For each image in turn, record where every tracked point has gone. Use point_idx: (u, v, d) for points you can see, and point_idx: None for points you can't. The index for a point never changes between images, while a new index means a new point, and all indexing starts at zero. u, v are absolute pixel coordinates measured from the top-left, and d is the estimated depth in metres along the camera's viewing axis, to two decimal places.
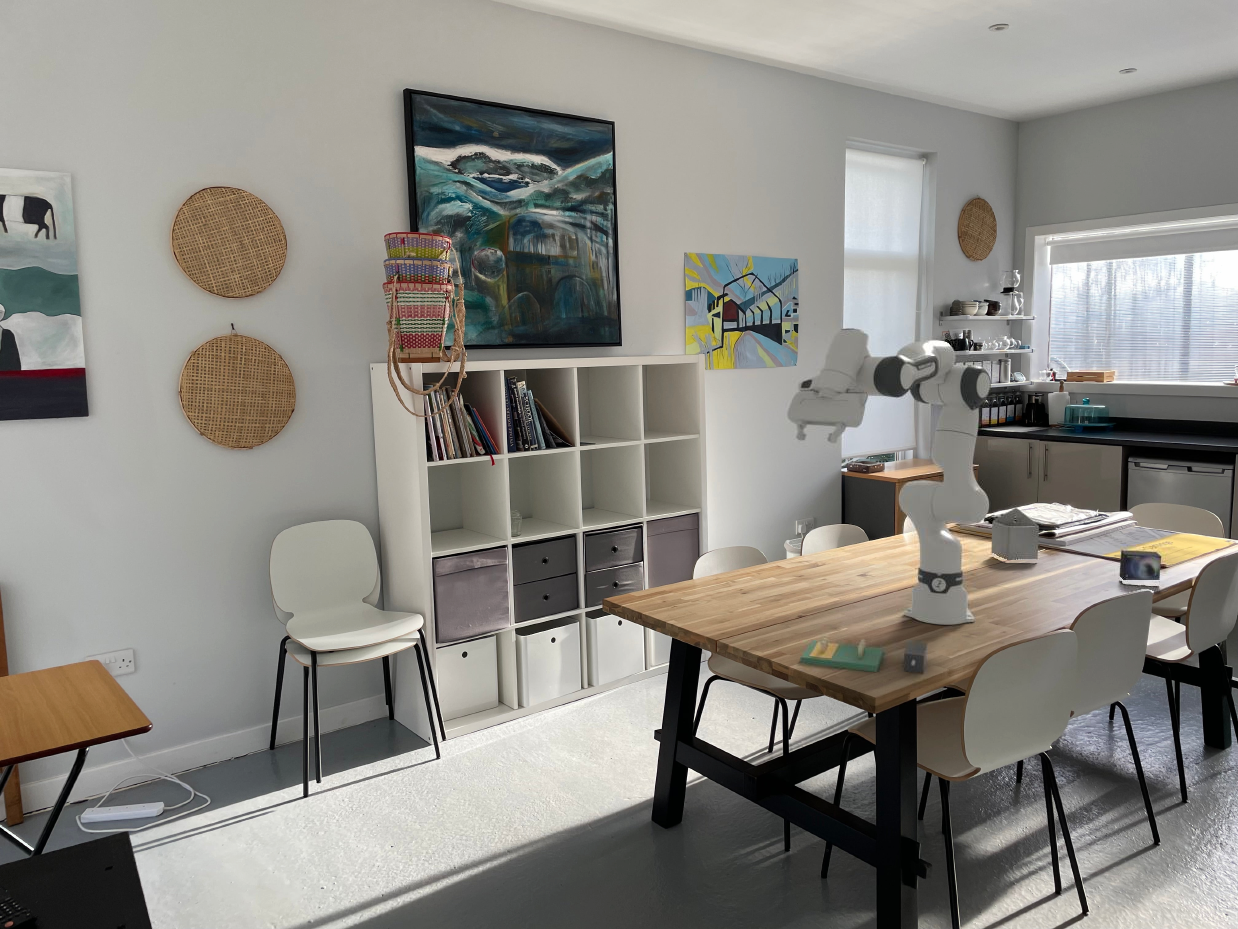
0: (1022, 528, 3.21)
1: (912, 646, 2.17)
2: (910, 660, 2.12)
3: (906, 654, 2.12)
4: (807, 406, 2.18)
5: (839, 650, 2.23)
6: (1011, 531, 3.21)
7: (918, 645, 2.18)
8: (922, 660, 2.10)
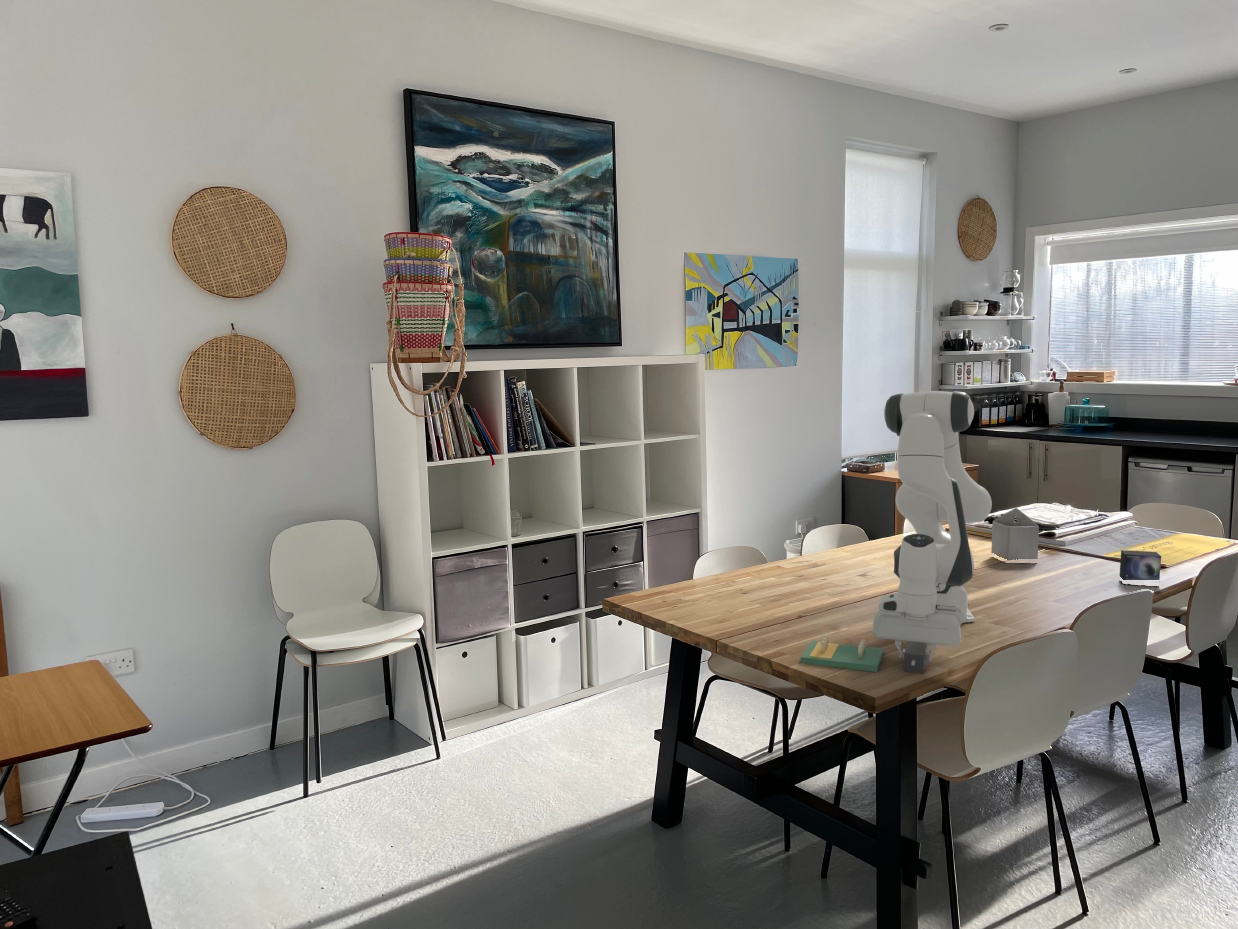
0: (1022, 528, 3.21)
1: (912, 646, 2.17)
2: (910, 660, 2.12)
3: (906, 654, 2.12)
4: (897, 627, 2.15)
5: (839, 650, 2.23)
6: (1011, 531, 3.21)
7: (918, 645, 2.18)
8: (922, 660, 2.10)
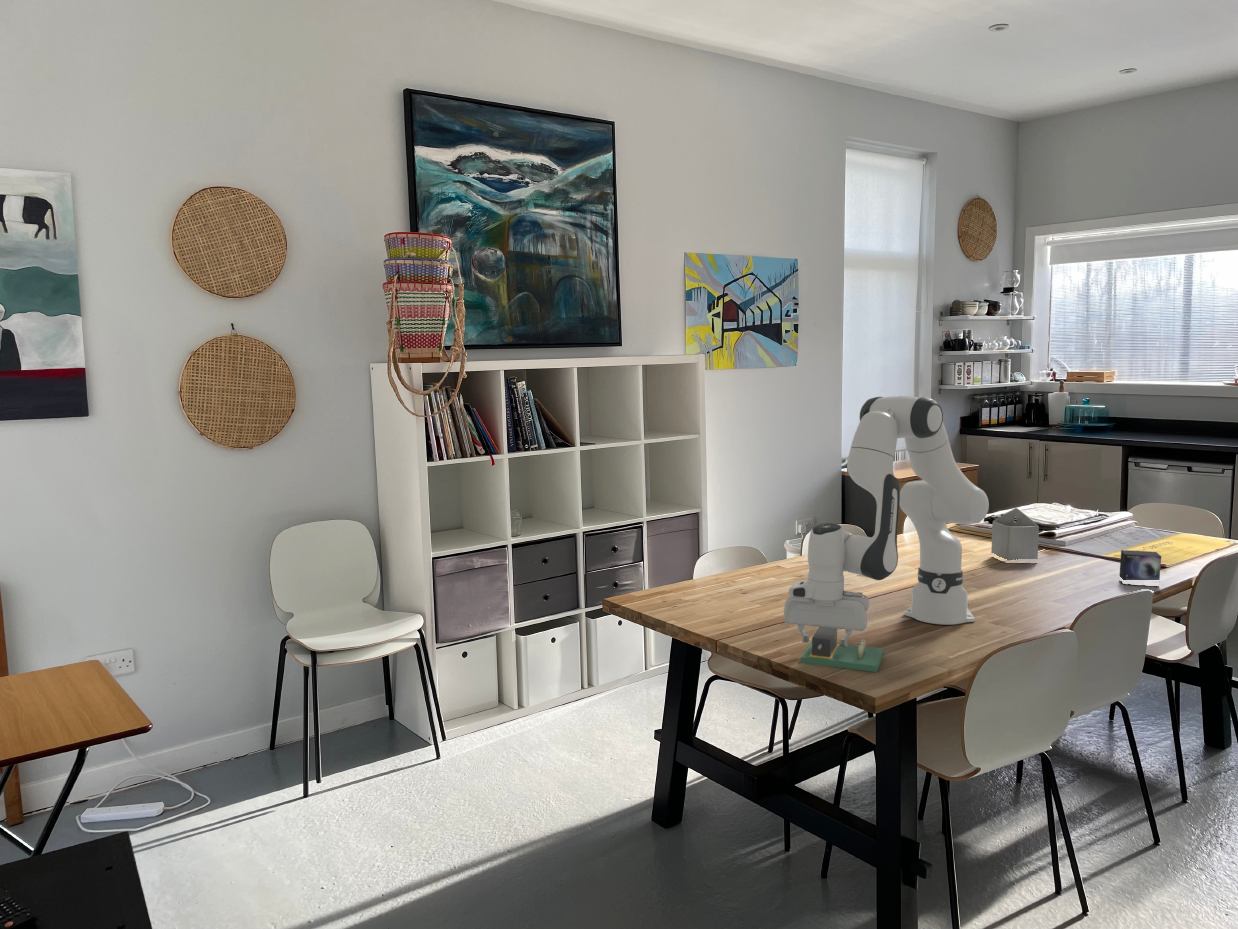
0: (1022, 528, 3.21)
1: (822, 631, 2.24)
2: (817, 644, 2.19)
3: (814, 638, 2.19)
4: (806, 613, 2.22)
5: (839, 650, 2.23)
6: (1011, 531, 3.21)
7: (828, 630, 2.25)
8: (828, 645, 2.17)
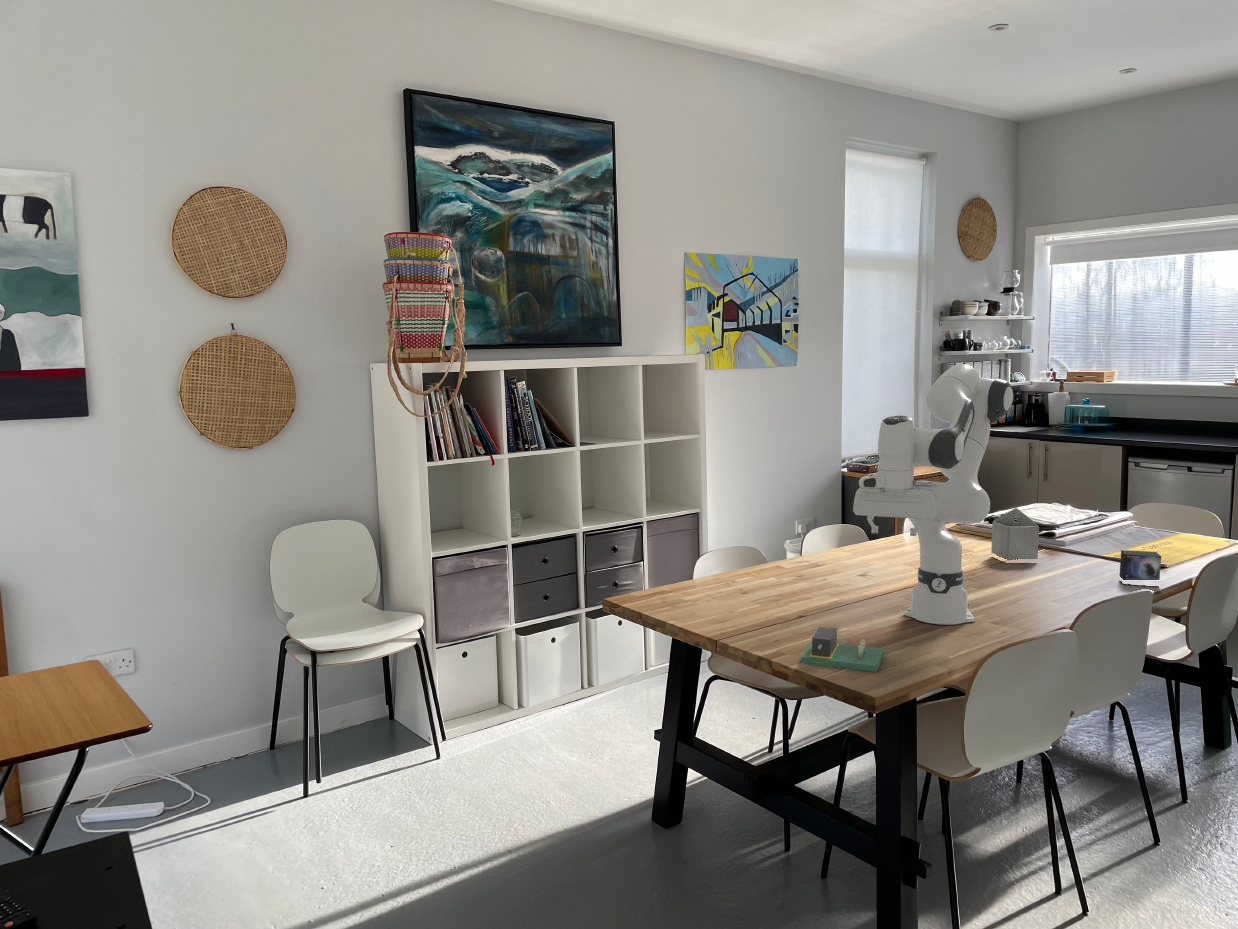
0: (1022, 528, 3.21)
1: (822, 631, 2.24)
2: (817, 644, 2.19)
3: (814, 638, 2.19)
4: (876, 503, 2.27)
5: (839, 650, 2.23)
6: (1011, 531, 3.21)
7: (828, 630, 2.25)
8: (828, 645, 2.17)
